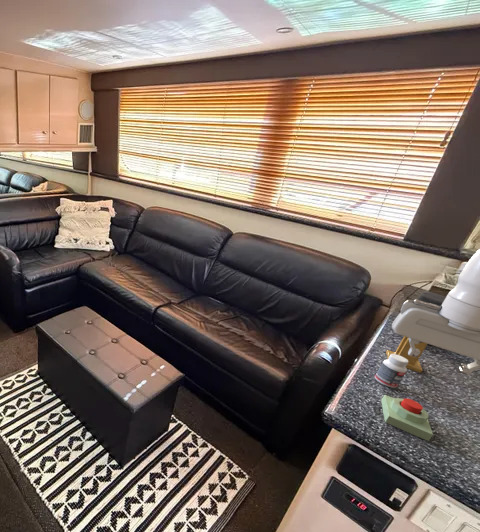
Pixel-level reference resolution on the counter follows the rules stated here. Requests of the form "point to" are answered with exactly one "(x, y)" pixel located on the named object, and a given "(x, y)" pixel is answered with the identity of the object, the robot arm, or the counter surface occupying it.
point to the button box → (406, 418)
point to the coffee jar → (431, 298)
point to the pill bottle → (392, 371)
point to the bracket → (412, 361)
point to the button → (411, 406)
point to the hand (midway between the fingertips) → (436, 363)
